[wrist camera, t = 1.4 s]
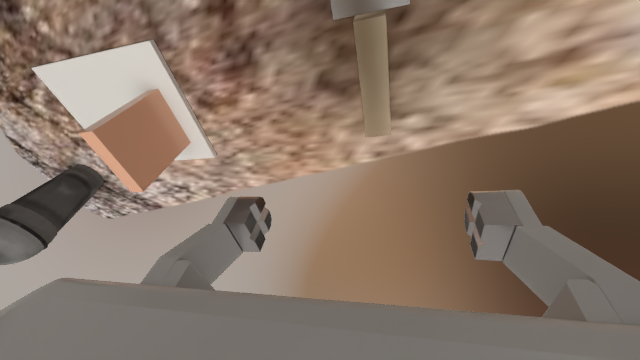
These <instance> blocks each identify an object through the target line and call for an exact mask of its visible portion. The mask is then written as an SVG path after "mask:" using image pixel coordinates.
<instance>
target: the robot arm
mask: <svg viewBox="0 0 640 360" xmlns="http://www.w3.org/2000/svg"><path fill="white" fill-rule="evenodd" d="M467 201H468V203H469V206H468V207H467V208H466V209H465V214H464V223H465V228H466V232H467V234H468V235H470V236H471V242H470V245H471V248H472V251H473V254H474V258H475V259H476V260H494V261H503V263H504V264H505V265H506V266H507V267H508V268H509V269H510V270H511V271H512V272H513V273H514V274H515V275H516V276H517V277H518V278H520V279H521V280H522V281H523V282H524V283H525V284H526V285H527V286H528V287H529V288H530V289H531V290H532V291H533V292H534V293H535V294H536V295H537V296H538V297H539V298H540V299H541V300H542V301H543V302H544V303H546V304H547V306H549V308H548V309H547V311H546V312H545V314H544V315H543V316H542V318H541V317H529V316H516V315H505V314H493V313H481V312H469V311H457V310H445V309H432V308H421V307H409V306H396V305H384V304H373V303H372V304H371V303H360V302H349V301H348V302H347V301H336V300H324V299H312V298H300V297H287V296H276V295H263V294H252V293H240V292H228V291H216V290H214V288H213V287H212V286H211V285H210V284H211V283H213V282H214V281H215V280H216V279H217V278H218V277H219V276H220V275H221V274H222V273H223V272H224V271H225V270H226V269H227V268H228V267H229V266H230V265H231V264H232V263H233V262H234V261H235V260H236V259H237V258H238V257H239V256H240V255H241V254H242V253H243V252H242V251H244V252H245V251H246V252H249V251H250V252H253V251H255V252H260V251H261V248H262V246H263V244H264V241H265V237H264V234H265V233H267V232H268V231H269V229H270V227H271V214H270V212H269V210H268V209H266V208H265V207H264V206H265V201H264V199H263V198H262V197H230V198H228V199H227V201H226V203H225V204H224V205H223V207H222V208H221V210H220V212H219V213H218V215H217V216H216V218H215V219H214V221H213V222H212V224H208V225H206V226H205V227H204V228H202V229H200V230H199V231H198V232H196V233H195V234H193V235H192V236H191V237H189V238H187V239H186V240H184V241H183V242H182V243H180V244H179V245H177V246H176V247H174V248H173V249H171V250H170V251H168V252H167V253H165V254H164V255H163V256H161V257H160V258H159V259H158V260H157V262H156V263H155V265H154V266H153V267H152V268H151V270H150V271H149V273H148V274H147V275H146V277H145V278H144V279H143V281H142V282H141V283H140V284H132V283H120V282H108V281H97V280H84V279H74V278H61V279H58V280H55V281H53V282H51V283H49V284H47V285H45V286H43V287H41V288H39V289H37V290H35V291H33V292H31V293H30V294H28V295H27V296H24V297H23V298H21V299H19V300H17V301H16V302H14V303H12V304H11V305H9V306H7V307H5V308H4V309H2V310H1V311H0V360H640V282H639V281H638V280H636V279H634V278H633V277H631V276H629V275H628V274H626V273H624V272H623V271H621V270H620V269H618V268H616V267H615V266H613V265H611V264H609V263H608V262H606V261H605V260H603V259H601V258H600V257H598V256H596V255H595V254H593V253H591V252H590V251H588V250H587V249H585V248H583V247H582V246H580V245H578V244H576V243H575V242H573V241H571V240H570V239H568V238H566V237H565V236H563V235H562V234H560V233H558V232H557V231H555V230H554V229H552V228H550V227H548V226H542V224H541V223H540V221H539V219H538V218H537V216H536V214H535V213H534V211H533V209H532V208H531V206H530V204H529V203H528V201H527V199H526V198H525V196H524V194H523V193H522V192H521V191H520V190H503V191H475V192H469V194H468V198H467Z"/></svg>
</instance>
